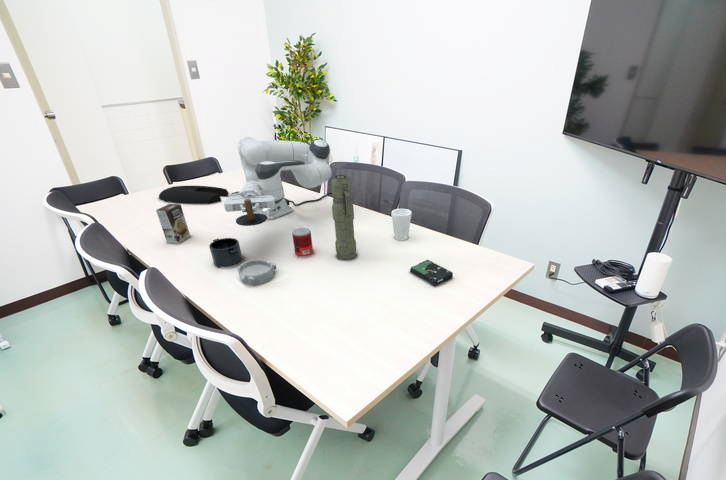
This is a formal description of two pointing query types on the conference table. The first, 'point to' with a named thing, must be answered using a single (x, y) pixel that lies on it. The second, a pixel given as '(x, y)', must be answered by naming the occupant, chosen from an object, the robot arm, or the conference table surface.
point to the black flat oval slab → (193, 194)
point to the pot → (225, 252)
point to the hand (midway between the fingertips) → (249, 210)
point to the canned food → (302, 242)
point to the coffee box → (173, 223)
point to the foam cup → (401, 223)
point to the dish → (256, 271)
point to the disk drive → (431, 272)
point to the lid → (250, 216)
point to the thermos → (343, 218)
